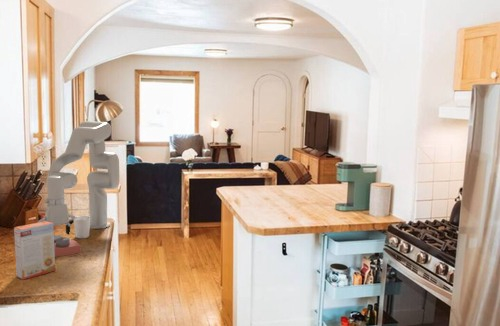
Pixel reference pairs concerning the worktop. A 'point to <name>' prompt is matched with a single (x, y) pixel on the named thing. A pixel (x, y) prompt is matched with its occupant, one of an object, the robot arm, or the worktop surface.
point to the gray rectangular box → (57, 237)
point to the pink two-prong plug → (66, 247)
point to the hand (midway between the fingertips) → (57, 235)
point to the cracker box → (34, 249)
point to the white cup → (82, 226)
